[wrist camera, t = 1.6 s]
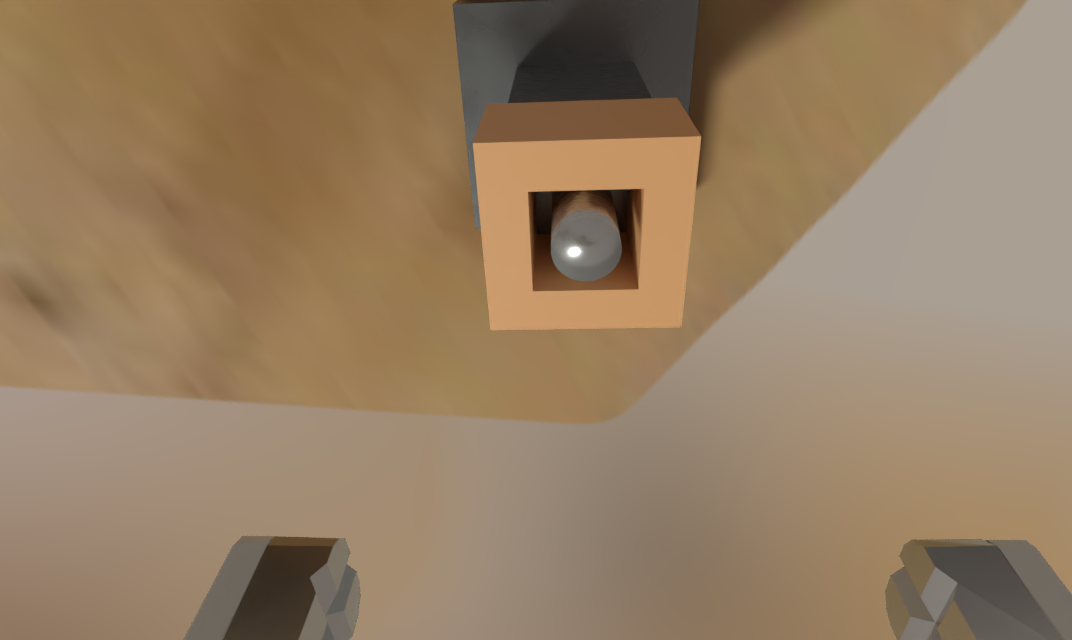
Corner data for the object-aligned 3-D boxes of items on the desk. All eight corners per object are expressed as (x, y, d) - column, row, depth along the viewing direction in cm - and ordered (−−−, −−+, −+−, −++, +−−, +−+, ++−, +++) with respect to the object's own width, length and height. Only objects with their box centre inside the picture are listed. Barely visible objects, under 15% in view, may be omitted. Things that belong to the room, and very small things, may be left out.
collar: (500, 269, 23) (490, 330, 20) (487, 103, 20) (472, 143, 17) (663, 265, 23) (681, 327, 20) (677, 97, 20) (701, 136, 16)
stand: (479, 211, 33) (433, 389, 21) (459, -2, 27) (380, 70, 15) (672, 207, 32) (740, 386, 20) (691, -12, 27) (800, 55, 15)
